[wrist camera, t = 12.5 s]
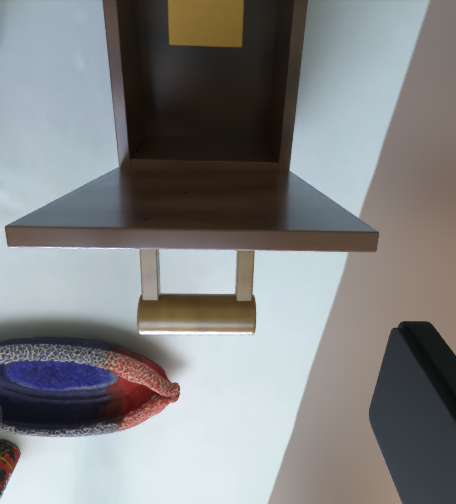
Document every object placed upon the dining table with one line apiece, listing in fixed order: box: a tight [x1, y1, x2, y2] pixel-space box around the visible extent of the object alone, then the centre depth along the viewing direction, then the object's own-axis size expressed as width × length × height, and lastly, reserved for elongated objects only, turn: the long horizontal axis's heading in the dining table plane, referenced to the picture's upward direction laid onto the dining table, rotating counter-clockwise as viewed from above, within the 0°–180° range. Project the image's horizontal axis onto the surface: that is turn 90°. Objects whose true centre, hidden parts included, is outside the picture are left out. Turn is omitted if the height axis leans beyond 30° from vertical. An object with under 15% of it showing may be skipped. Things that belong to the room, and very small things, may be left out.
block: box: [168, 0, 244, 48], centre depth 30 cm, size 5×5×5 cm
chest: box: [103, 0, 308, 171], centre depth 31 cm, size 17×13×9 cm
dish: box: [0, 337, 180, 437], centre depth 51 cm, size 16×31×5 cm, turn 85°
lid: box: [5, 167, 379, 335], centre depth 23 cm, size 18×13×5 cm
